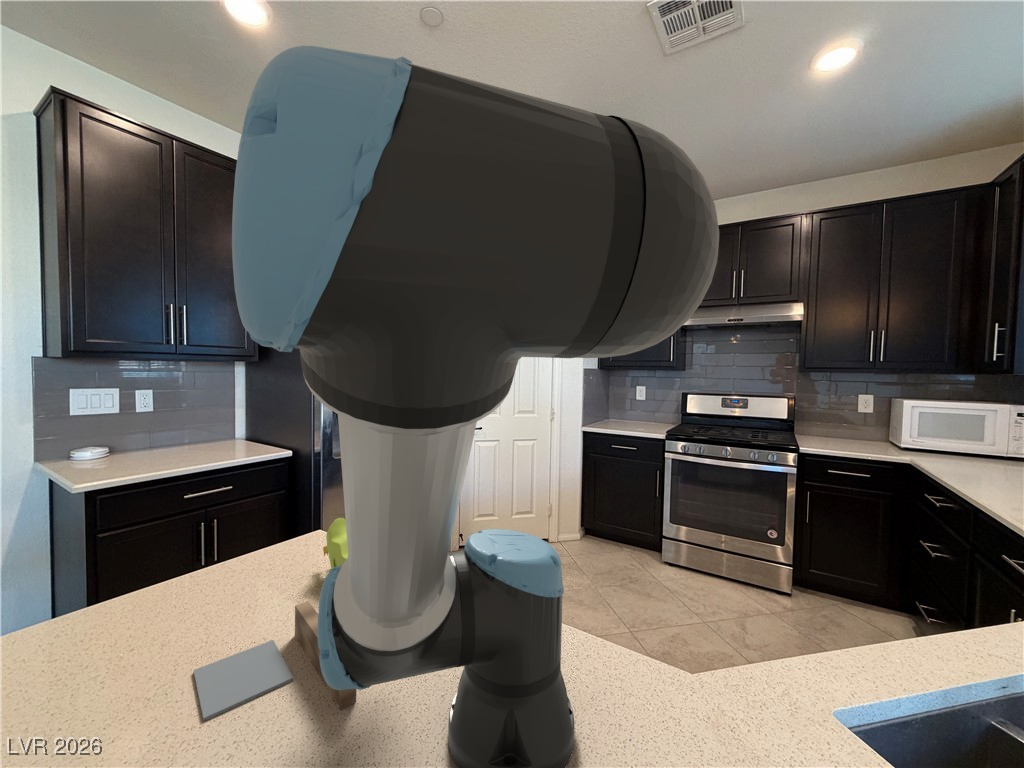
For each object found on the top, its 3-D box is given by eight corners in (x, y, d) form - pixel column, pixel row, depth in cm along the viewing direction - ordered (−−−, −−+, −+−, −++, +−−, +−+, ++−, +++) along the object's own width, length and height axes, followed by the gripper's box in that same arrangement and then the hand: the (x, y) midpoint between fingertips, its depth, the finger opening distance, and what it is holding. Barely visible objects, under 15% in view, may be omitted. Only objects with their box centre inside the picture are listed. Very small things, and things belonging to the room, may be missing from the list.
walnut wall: (356, 701, 53) (356, 663, 53) (340, 709, 51) (341, 671, 51) (307, 630, 67) (308, 600, 67) (294, 635, 66) (295, 605, 66)
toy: (322, 603, 86) (357, 608, 72) (315, 523, 90) (347, 514, 76) (351, 593, 90) (390, 595, 77) (343, 517, 94) (378, 507, 81)
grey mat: (293, 680, 56) (293, 677, 56) (203, 721, 49) (203, 718, 49) (273, 642, 64) (273, 639, 64) (193, 672, 57) (193, 670, 57)
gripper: (428, 393, 74) (426, 518, 74) (333, 394, 62) (331, 543, 63) (451, 394, 69) (449, 530, 69) (351, 395, 57) (349, 559, 57)
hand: (393, 536), depth 66 cm, fingers closed on ice cream cone, 4 cm apart
